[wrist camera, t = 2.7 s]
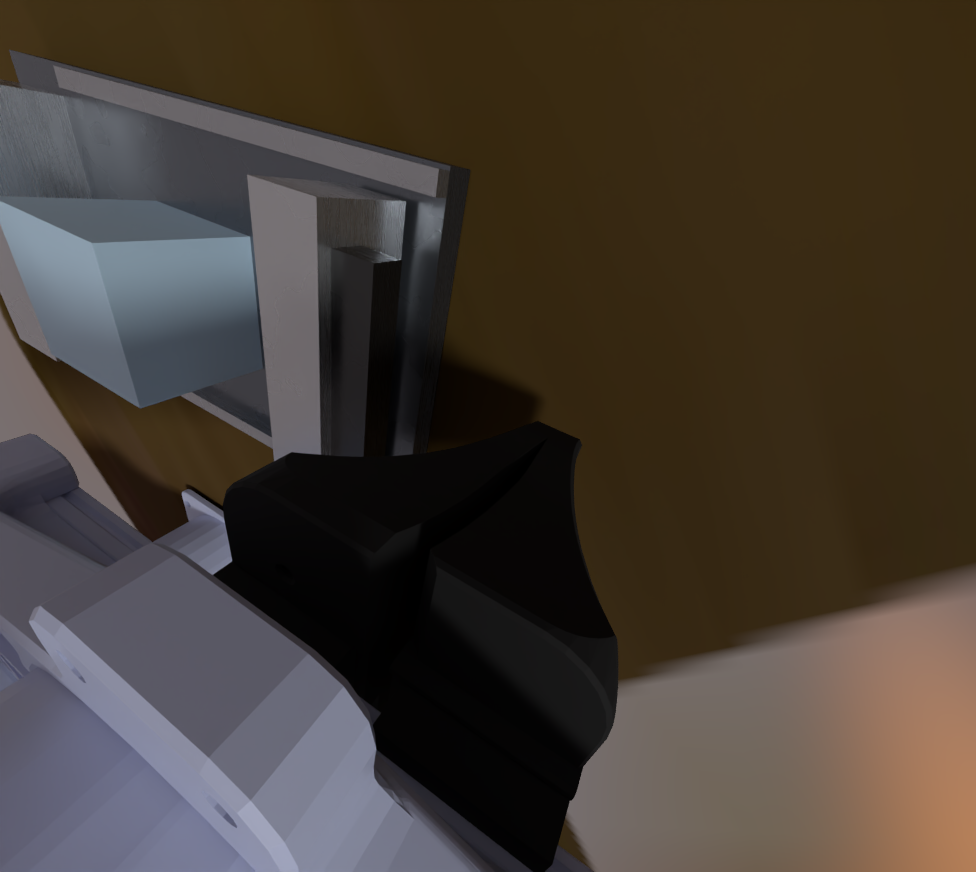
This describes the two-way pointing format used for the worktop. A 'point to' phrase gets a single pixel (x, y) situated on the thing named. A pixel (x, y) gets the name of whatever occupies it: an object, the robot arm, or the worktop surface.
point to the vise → (227, 205)
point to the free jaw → (327, 311)
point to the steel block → (137, 292)
